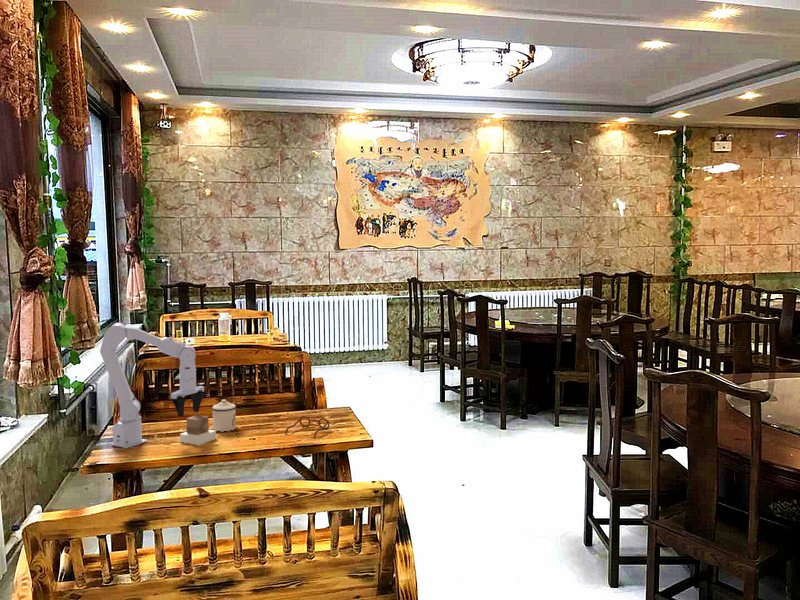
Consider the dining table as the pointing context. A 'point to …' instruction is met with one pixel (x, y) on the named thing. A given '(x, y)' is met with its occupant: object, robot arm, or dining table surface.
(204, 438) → the cream block
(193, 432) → the walnut cube
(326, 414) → the dining table surface
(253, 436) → the dining table surface
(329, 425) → the glasses
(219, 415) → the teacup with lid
